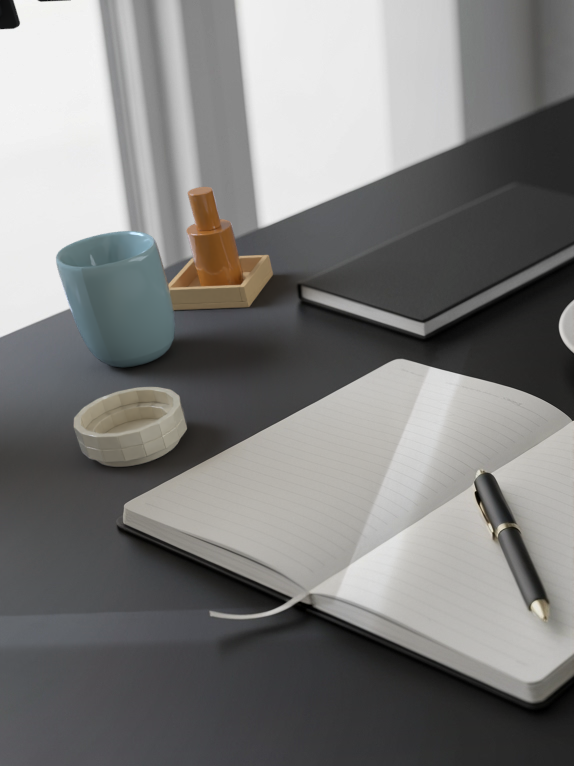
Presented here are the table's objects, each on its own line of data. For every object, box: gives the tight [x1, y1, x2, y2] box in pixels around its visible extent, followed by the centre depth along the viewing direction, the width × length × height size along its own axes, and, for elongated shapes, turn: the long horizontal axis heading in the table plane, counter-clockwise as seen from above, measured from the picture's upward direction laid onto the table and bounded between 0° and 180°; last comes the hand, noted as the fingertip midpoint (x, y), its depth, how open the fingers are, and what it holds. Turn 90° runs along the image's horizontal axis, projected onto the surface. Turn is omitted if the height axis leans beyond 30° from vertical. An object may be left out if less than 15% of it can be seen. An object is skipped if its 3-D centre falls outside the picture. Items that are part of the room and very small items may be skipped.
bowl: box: [73, 386, 188, 468], centre depth 95 cm, size 7×7×3 cm
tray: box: [168, 254, 274, 311], centre depth 120 cm, size 8×8×2 cm
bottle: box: [185, 186, 245, 287], centre depth 118 cm, size 4×4×10 cm
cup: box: [55, 230, 176, 368], centre depth 107 cm, size 8×8×10 cm
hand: (29, 13), depth 99 cm, fingers open, 9 cm apart
